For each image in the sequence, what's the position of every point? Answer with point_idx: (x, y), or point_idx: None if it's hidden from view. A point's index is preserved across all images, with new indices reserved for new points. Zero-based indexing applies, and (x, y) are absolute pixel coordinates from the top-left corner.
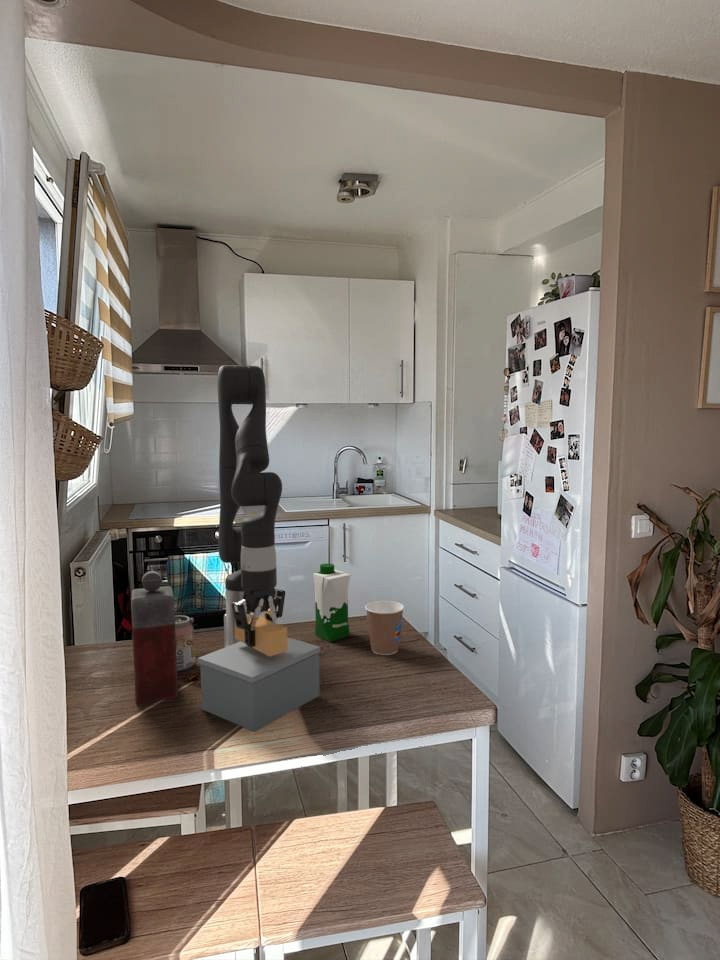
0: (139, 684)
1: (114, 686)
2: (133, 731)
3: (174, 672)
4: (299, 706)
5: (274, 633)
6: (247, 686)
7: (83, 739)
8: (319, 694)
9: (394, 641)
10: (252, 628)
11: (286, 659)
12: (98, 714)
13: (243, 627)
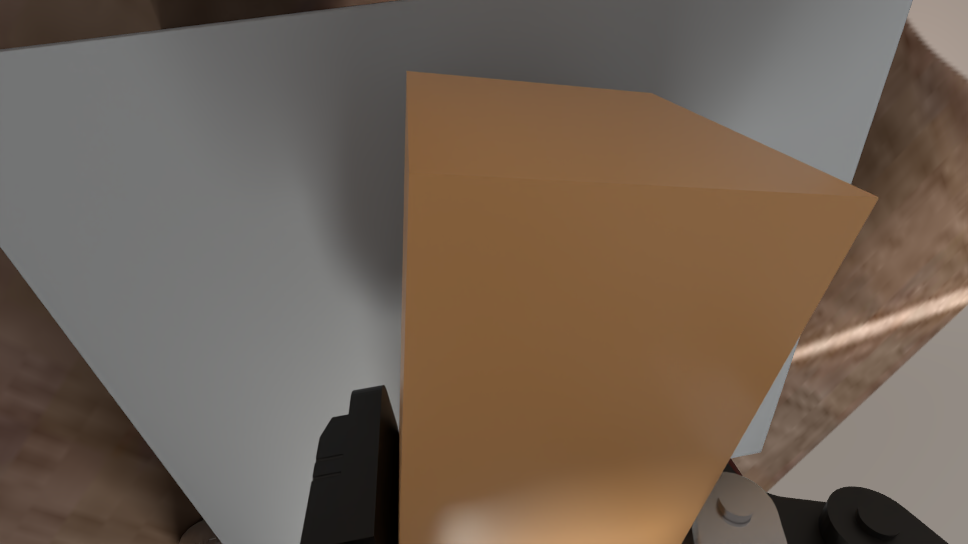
0: (732, 467)
1: None
2: (841, 293)
3: None
4: (333, 8)
5: (731, 175)
6: None
7: (920, 333)
8: None
9: None
10: (748, 494)
11: (426, 52)
12: (796, 419)
13: (913, 526)
